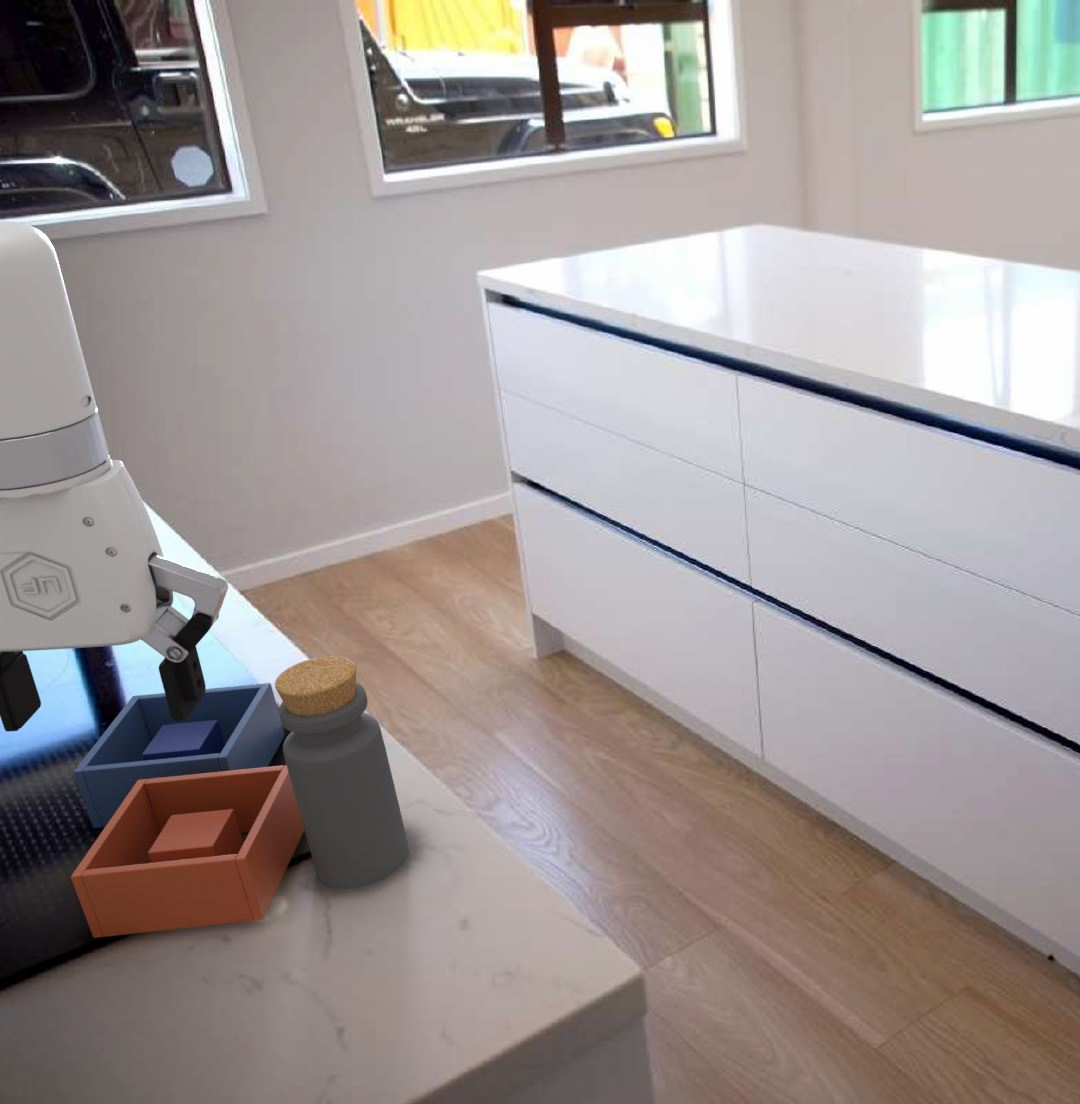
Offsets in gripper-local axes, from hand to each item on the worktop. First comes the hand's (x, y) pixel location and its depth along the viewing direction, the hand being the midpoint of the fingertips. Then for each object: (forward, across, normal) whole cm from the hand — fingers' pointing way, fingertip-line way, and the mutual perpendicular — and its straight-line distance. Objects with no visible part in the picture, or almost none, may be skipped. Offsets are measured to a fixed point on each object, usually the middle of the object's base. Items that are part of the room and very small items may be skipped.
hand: (106, 714), depth 77 cm
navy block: (+13, -2, +12) cm, 17 cm away
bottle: (+13, +14, 0) cm, 19 cm away
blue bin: (+13, -2, +12) cm, 18 cm away
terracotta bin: (+13, +4, 0) cm, 14 cm away
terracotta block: (+13, +4, 0) cm, 13 cm away
